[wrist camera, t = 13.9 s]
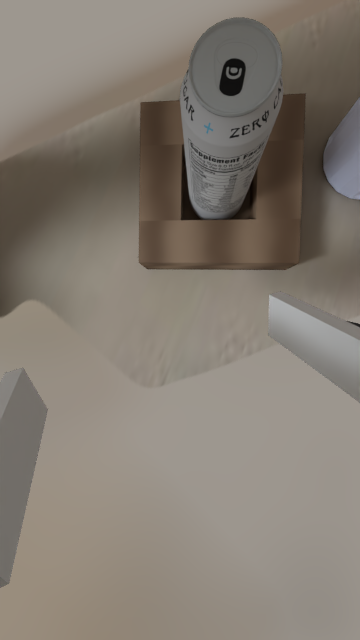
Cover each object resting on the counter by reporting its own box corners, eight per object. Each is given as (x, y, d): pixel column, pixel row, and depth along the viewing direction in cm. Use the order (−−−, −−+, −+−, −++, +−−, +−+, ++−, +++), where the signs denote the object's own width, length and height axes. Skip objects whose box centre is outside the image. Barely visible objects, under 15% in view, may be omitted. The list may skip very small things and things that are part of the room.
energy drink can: (247, 176, 27) (306, 10, 12) (236, 230, 27) (280, 133, 12) (195, 168, 28) (189, -1, 13) (184, 221, 28) (167, 117, 13)
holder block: (147, 269, 29) (138, 262, 25) (148, 131, 28) (140, 102, 24) (284, 269, 28) (299, 262, 24) (290, 125, 27) (305, 93, 23)
